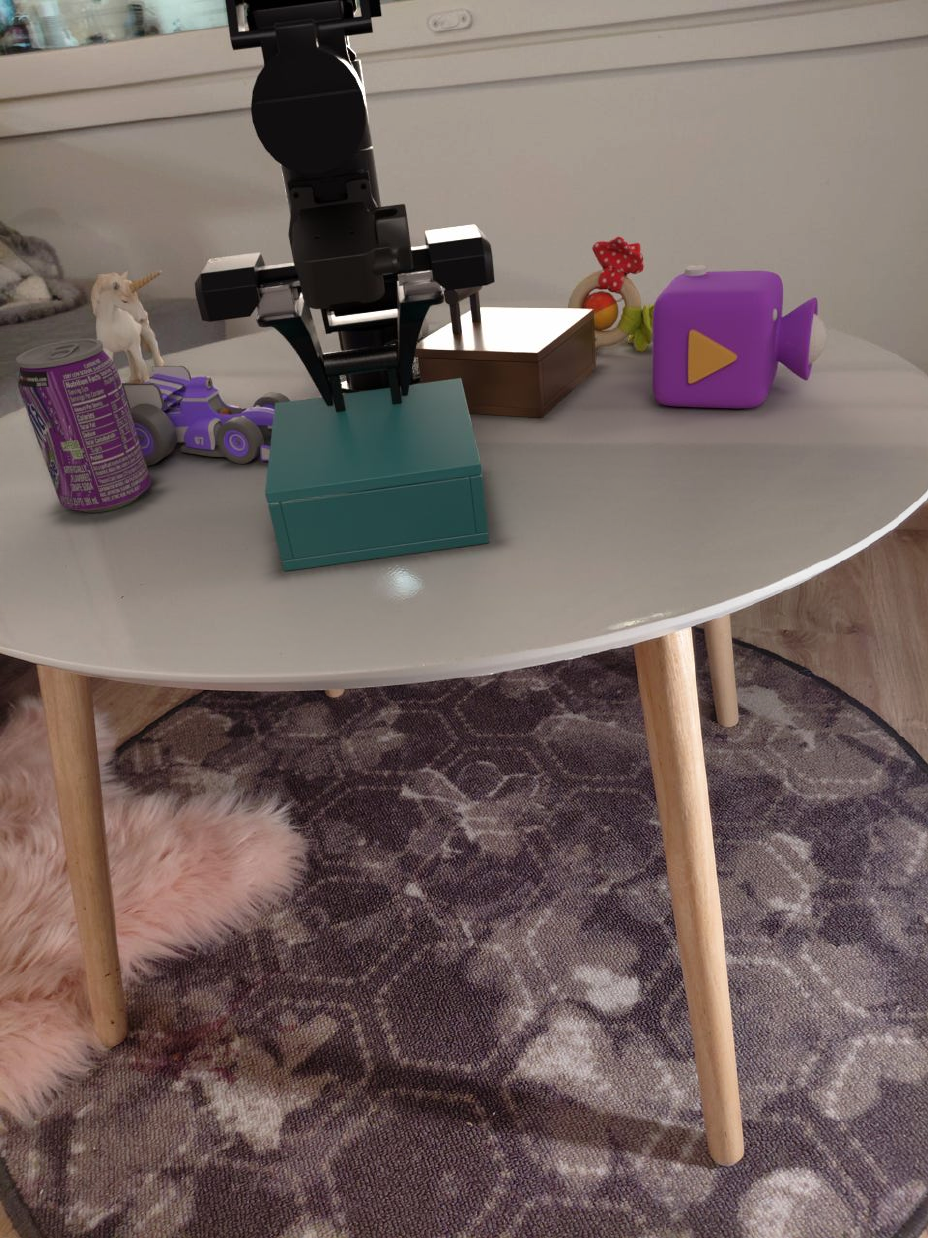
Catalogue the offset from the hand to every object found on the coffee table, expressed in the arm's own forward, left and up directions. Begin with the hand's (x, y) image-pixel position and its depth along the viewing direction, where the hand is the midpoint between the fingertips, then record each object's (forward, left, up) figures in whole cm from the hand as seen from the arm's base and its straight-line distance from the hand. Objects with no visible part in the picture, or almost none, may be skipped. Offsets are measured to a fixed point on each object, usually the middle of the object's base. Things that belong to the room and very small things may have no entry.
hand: (367, 399), depth 66 cm
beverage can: (-20, -11, -8) cm, 25 cm away
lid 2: (-8, +23, -3) cm, 25 cm away
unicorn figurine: (-41, +8, -8) cm, 43 cm away
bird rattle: (-5, +38, -8) cm, 39 cm away
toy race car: (-21, +1, -8) cm, 23 cm away
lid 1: (+2, -2, -2) cm, 4 cm away
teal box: (+3, -2, -8) cm, 8 cm away
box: (-7, +24, -8) cm, 26 cm away
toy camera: (+12, +31, -8) cm, 34 cm away
